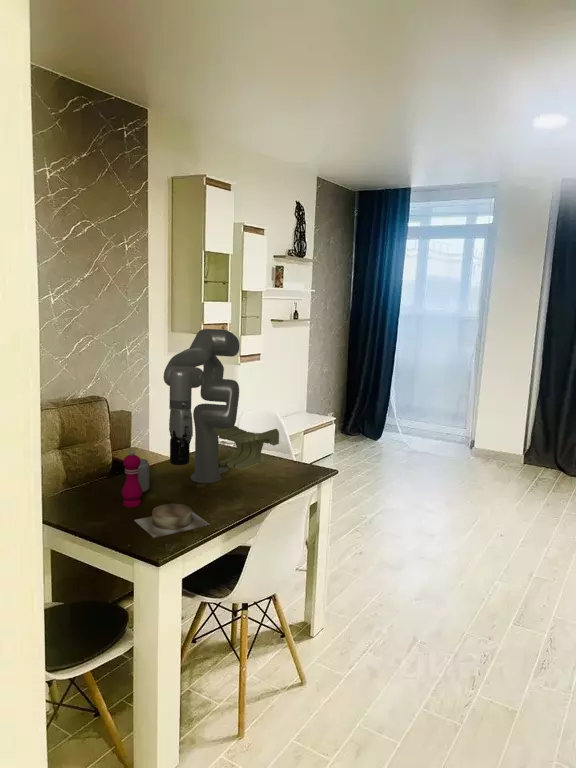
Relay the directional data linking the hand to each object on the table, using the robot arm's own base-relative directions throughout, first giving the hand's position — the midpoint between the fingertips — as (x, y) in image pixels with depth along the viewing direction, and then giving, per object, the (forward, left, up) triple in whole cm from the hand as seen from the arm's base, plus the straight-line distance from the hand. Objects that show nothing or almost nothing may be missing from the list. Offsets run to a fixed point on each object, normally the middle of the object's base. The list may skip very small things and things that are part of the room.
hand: (179, 454), depth 212 cm
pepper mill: (+13, -12, -20) cm, 27 cm away
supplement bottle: (0, 0, -4) cm, 4 cm away
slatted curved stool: (-48, -37, -20) cm, 64 cm away
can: (+5, -25, -20) cm, 32 cm away
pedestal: (+8, +11, -20) cm, 24 cm away
